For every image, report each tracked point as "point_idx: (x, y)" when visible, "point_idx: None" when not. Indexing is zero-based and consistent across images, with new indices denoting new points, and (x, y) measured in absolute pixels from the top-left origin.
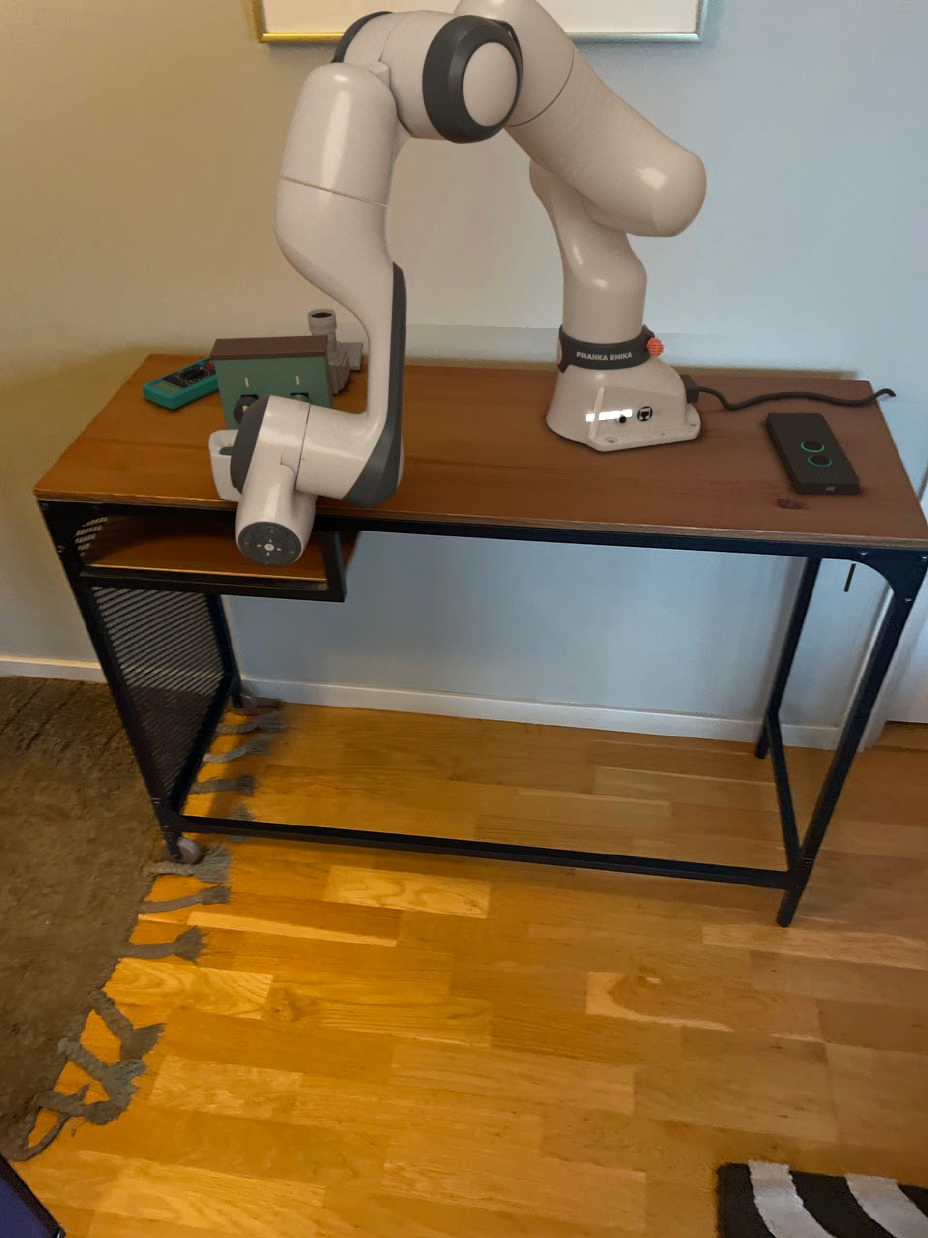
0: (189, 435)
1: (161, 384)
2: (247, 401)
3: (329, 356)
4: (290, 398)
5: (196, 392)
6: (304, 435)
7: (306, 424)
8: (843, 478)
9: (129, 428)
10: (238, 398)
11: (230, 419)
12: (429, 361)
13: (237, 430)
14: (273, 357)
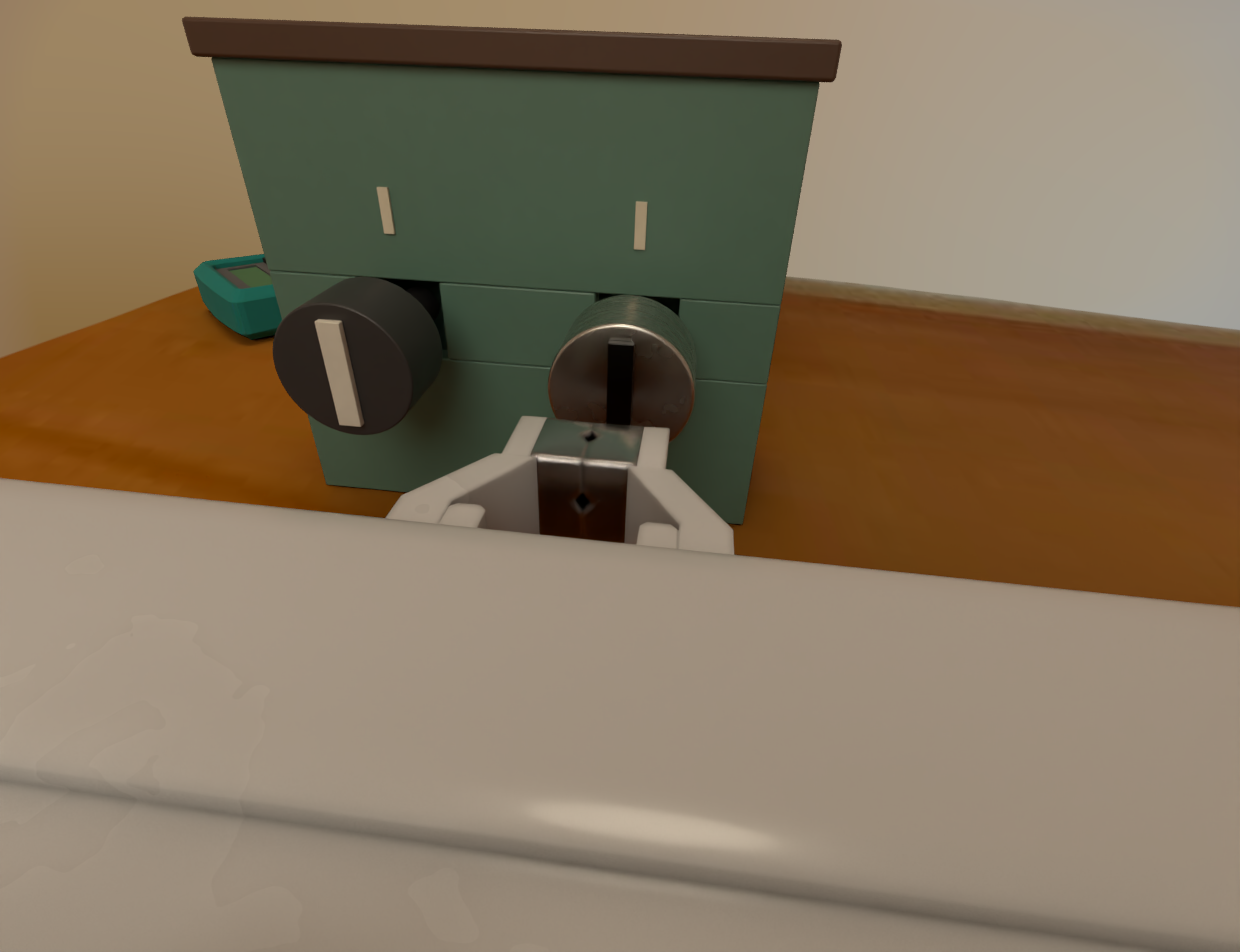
0: (220, 424)
1: (250, 271)
2: (352, 297)
3: None
4: (590, 311)
5: None
6: (711, 719)
7: (690, 497)
8: None
9: (70, 376)
10: None
11: None
12: (941, 302)
13: (18, 500)
14: (529, 64)
